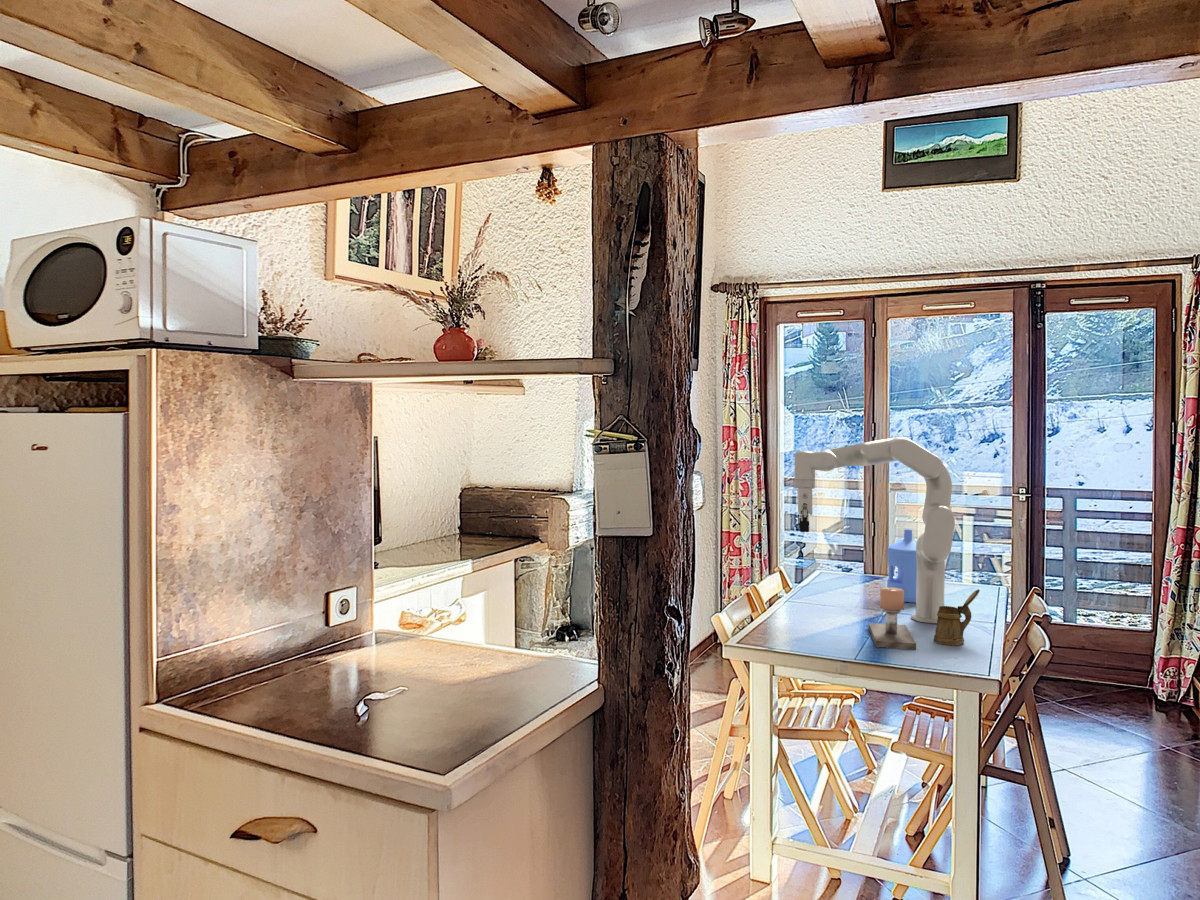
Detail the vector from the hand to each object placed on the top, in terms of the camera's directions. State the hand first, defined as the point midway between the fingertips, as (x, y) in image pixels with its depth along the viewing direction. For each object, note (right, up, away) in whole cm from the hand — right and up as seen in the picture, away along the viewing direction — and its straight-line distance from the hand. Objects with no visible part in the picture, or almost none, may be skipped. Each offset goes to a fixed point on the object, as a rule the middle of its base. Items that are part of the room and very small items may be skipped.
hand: (804, 530), depth 311 cm
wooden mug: (+40, -33, -39) cm, 65 cm away
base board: (+20, -33, -35) cm, 52 cm away
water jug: (+48, -31, +27) cm, 63 cm away
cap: (+20, -22, -35) cm, 46 cm away
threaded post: (+20, -31, -35) cm, 50 cm away
